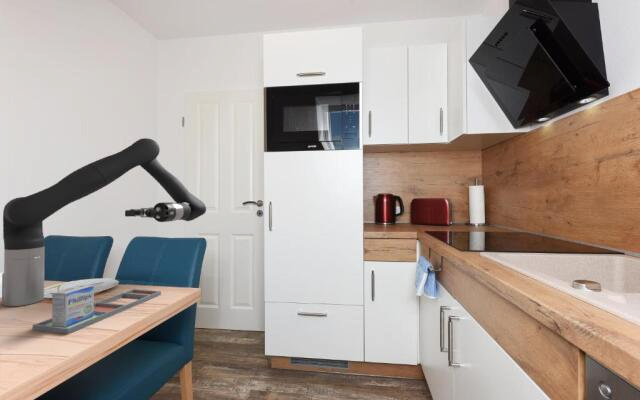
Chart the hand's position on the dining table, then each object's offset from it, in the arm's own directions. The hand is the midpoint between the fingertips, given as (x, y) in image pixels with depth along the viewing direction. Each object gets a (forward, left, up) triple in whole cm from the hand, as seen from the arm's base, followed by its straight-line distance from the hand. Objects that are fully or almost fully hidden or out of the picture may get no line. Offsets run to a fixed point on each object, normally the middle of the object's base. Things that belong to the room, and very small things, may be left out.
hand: (136, 213), depth 105 cm
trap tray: (+3, -14, -28) cm, 31 cm away
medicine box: (+2, -24, -28) cm, 37 cm away
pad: (+3, -24, -28) cm, 37 cm away
